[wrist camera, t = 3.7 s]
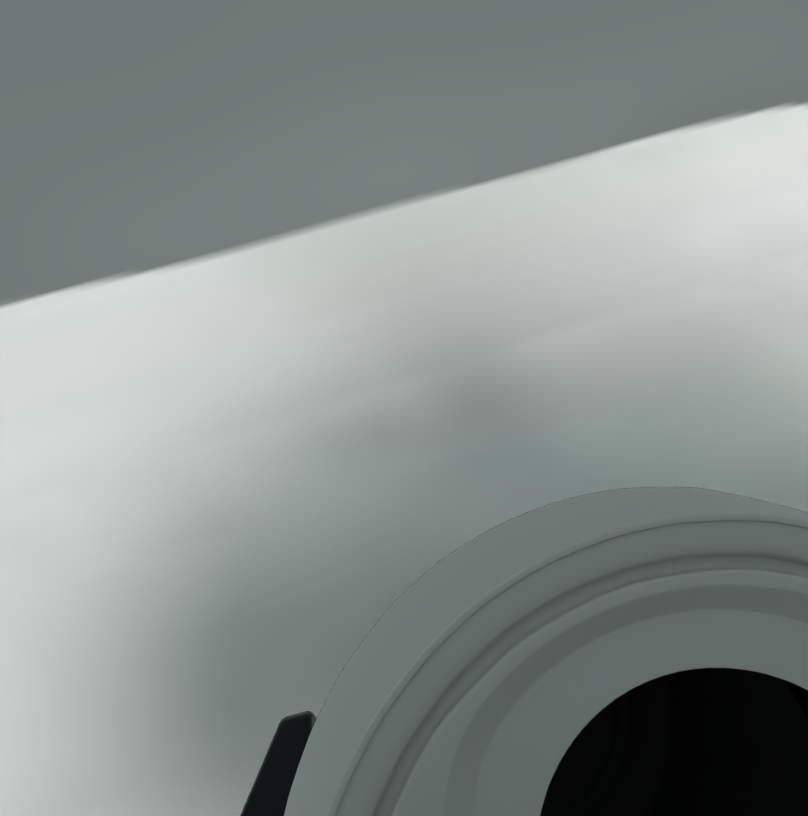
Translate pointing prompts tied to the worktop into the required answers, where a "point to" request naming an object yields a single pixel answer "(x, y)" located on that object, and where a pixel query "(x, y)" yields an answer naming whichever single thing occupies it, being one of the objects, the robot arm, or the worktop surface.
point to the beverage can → (583, 670)
